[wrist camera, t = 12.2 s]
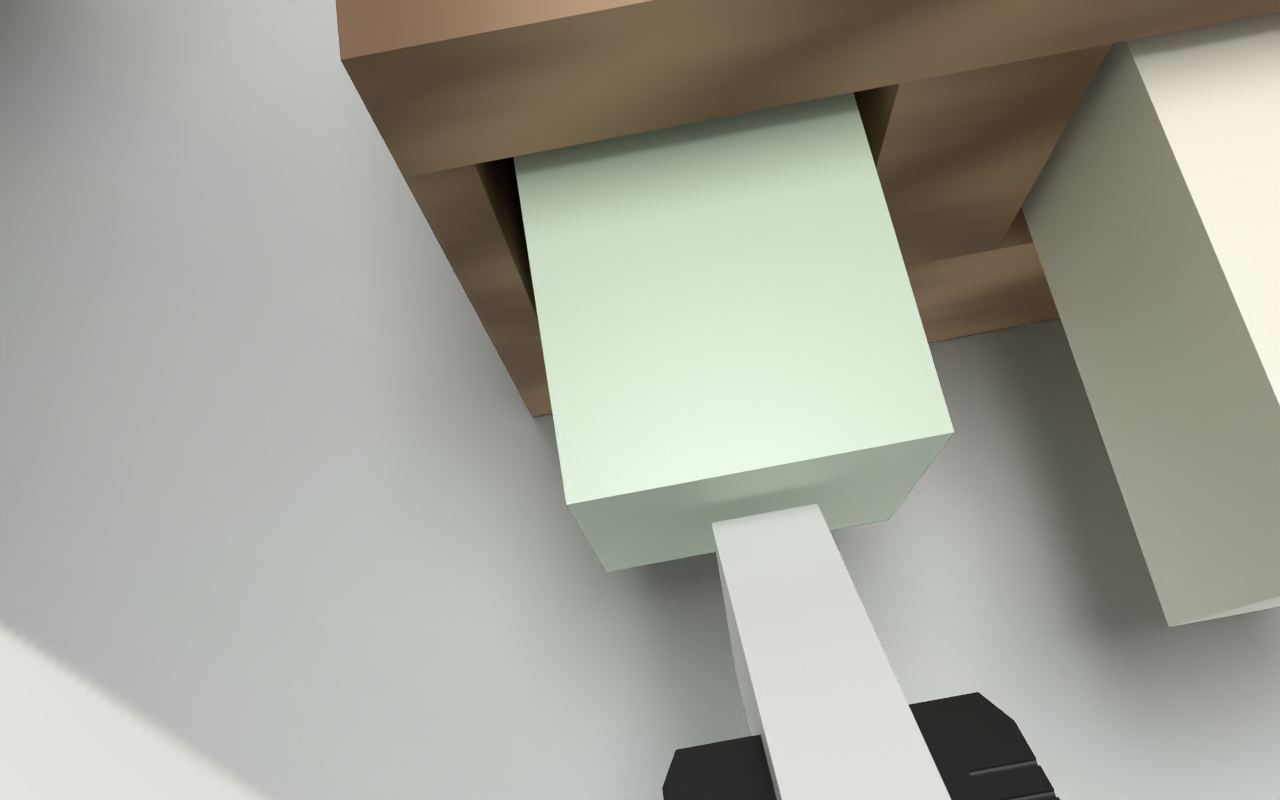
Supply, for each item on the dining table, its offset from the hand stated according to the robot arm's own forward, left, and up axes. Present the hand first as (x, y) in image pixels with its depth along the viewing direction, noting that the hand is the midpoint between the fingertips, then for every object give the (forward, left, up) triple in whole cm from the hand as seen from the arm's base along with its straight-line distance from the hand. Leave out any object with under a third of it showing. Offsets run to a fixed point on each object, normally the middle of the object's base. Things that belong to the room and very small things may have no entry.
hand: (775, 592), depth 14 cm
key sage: (0, +6, -3) cm, 6 cm away
